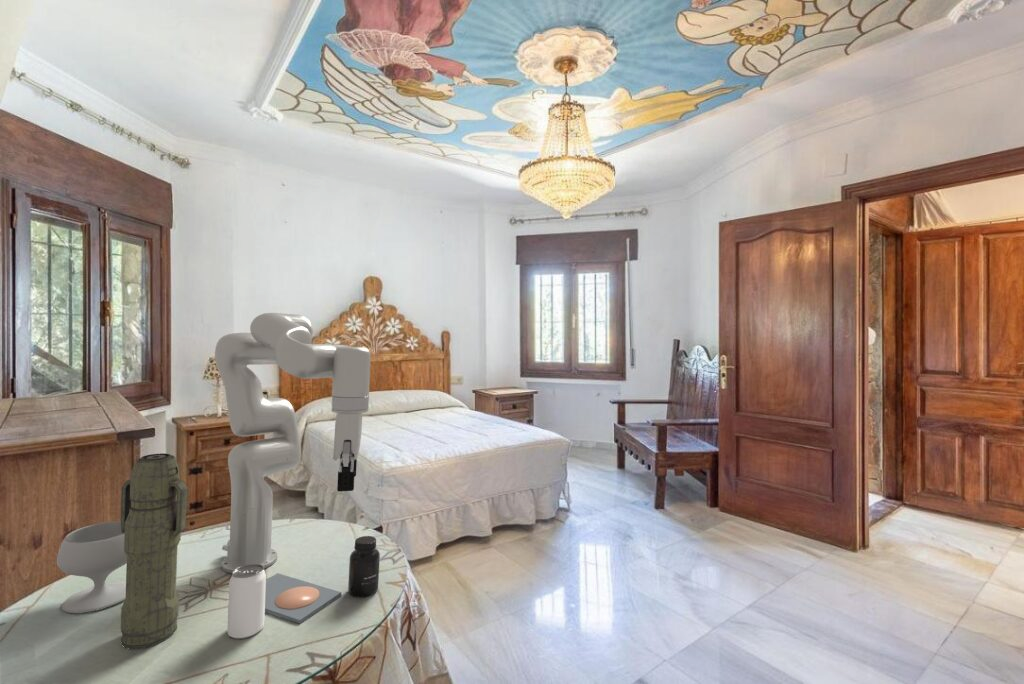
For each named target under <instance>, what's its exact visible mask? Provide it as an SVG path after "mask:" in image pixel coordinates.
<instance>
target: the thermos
mask: <svg viewBox="0 0 1024 684" xmlns="http://www.w3.org/2000/svg"><path fill="white" fill-rule="evenodd" d="M188 493H189V486H188V485H187V483H186V482H185V480H180V467H179V464H178V462H177V459H176V456H175V455H172V454H170V453H151V454H146V455H143V456H141V457H140V458H137V459H136V460H135V463H134V465H133V468H132V470H131V473H130V479H127V480H126V481H125V483H124V484H123V485H122V486H121V501H120V503H121V504H120V521H121V531H122V533H125V535H124V551H125V553H126V555H127V563H126V567H125V568H126V573H125V575H126V577H125V579H126V580H125V583H126V597H125V600H123V601H124V602H123V604H122V607H121V610H120V611H121V612H120V613H121V614H120V616H121V617H120V633H121V641H120V643H121V642H122V643H121V646H122V645H123V646H124V647H125V649H127V648H129V649H128V650H140V649H141V648H142V649H147V648H149V647H154V646H155V645H158V644H161V643H162V642H163V643H164V642H165V641H166V640H168V639H170V638H171V637H173V635H174V634H175V633H176V632H175V631H177V629H178V616H179V609H180V608H179V607H180V605H179V603H180V595H179V591H178V589H177V575H178V574H177V569H178V564H177V563H178V545H179V544H180V542H181V539H182V538H181V537H182V532H184V531H185V530H186V528H187V509H188V495H189V494H188ZM174 632H175V633H174ZM123 646H122V647H123ZM124 647H123V648H124Z"/></svg>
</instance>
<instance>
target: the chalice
mask: <svg viewBox="0 0 1024 684" xmlns="http://www.w3.org/2000/svg"><path fill="white" fill-rule="evenodd" d="M124 535H125V533H122V531H121V520H115V521H106V522H100V523H96V524H90V525H87V526H83V527H81V528H78V529H75V530H73V531H71V532H70V533H67V535H66V536H65V537H64V539H63V541H62V542H61V544H60V546H59V548H58V552H57V557H56V565H57V566H58V568H59V570H60V571H62V573H65V574H66V575H71V576H74V577H75V576H76V577H84V578H88V579H90V580H92V582H93V585H94V586H92V588H91V587H88V588H89V589H88V588H86V590H85V589H83V590H80V591H78V592H76V593H74V594H72V595H71V596H70V597H68V598H66V599H65V600H64V601H65V602H64V601H63V603H61V606H60V608H61V610H62V611H63V612H65V613H69V614H84V613H91V612H96V611H100V610H103V609H106V607H107V608H110V607H112V606H114V605H117V604H119V603H121V602H123V601H125V597H126V582H110V583H106V581H107V578H108V577H109V575H111V574H112V573H113V572H115V571H116V570H118V569H119V568H121V567H124V566H125V565H127V555H126V553H125V551H124ZM95 610H96V611H95ZM83 612H84V613H83Z"/></svg>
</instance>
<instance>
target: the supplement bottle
mask: <svg viewBox="0 0 1024 684" xmlns="http://www.w3.org/2000/svg"><path fill="white" fill-rule="evenodd" d="M353 548H354V550H353V551H352V552H351V554H350V555H349V564H348V583H347V591H348V593H349V595H350V596H352V597H354V598H366V597H370V596H373V595H374V594H375V593H376V592H377V591H378V590H379V581H380V580H379V579H380V576H379V575H380V562H381V561H380V560H381V559H380V558H381V554H380V551H379V549H377V537H374V536H370V535H363V536H359V537H357V538H356V539H355V541H354V547H353Z"/></svg>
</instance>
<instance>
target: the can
mask: <svg viewBox="0 0 1024 684" xmlns="http://www.w3.org/2000/svg"><path fill="white" fill-rule="evenodd" d="M264 569H265V568H264V567H263V566H262V565H260V564H248V565H244V566H241V567H238V568H237V569H235V570H234V571H233V572H232V573H231V575H232V576H231V577H230V579H229V583H228V584H229V585H228V602H227V603H228V607H227V610H228V611H227V635H228V636H229V637H230V638H232V639H235V640H238V639H239V640H241V639H242V640H243V639H247V638H251V637H253V636H255V635H257V634H258V633H260V632H261V630H263V628H264V626H265V616H266V614H265V613H266V612H265V592H266V579H267V574H266V572H265V570H264Z"/></svg>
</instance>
